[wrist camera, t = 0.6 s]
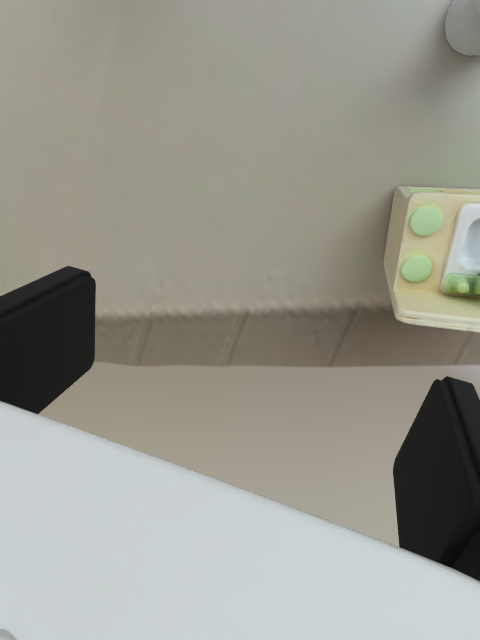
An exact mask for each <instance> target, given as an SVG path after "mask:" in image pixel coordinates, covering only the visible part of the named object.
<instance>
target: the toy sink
mask: <svg viewBox="0 0 480 640" xmlns="http://www.w3.org/2000/svg"><path fill="white" fill-rule="evenodd" d="M383 264H384V270H385V275H386V279H387V284H388V288H389V292H390V297H391V301H392V306H393V310H394V314H395V317H396V319H397V320H399V321H401V322H404V323H407V324H413V325H421V326H430V327H438V328H447V329H455V330H463V331H471V332H480V189H466V188H436V187H409V186H397V187H396V188H395V191H394V197H393V203H392V210H391V216H390V222H389V228H388V234H387V241H386V247H385V254H384V261H383Z"/></svg>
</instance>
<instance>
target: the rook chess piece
mask: <svg viewBox="0 0 480 640" xmlns="http://www.w3.org/2000/svg"><path fill="white" fill-rule="evenodd" d="M444 27H445V32H446V37H447V41H448V42H449V44H450V45H451V46H452V48H453V49H454V50H455V51H457V52H459V53H461V54H463V55H466V56H470V55H480V0H453V2H452V3H451V5H450V7H449V9H448V11H447V16H446V21H445V26H444Z"/></svg>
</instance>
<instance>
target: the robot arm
mask: <svg viewBox="0 0 480 640" xmlns="http://www.w3.org/2000/svg"><path fill="white" fill-rule="evenodd" d="M95 294H96V283H95V280H94V279H93V278H91V274H90V273H89V272H88V271H85V270H81V269H78V268H74V267H71V266H67V267H64V268H62V269H60V270H58V271H55V272H53V273H51V274H49V275H47V276H44V277H42V278H40V279H38V280H36V281H33V282H31V283H29V284H27V285H24V286H22V287H20V288H18V289H16V290H13V291H11V292H9V293H7V294H5V295H2V296H0V640H480V400H479V397H478V395H477V393H476V391H475V388H474V386H473V385H472V383H468V382H465V381H461V380H458V379H455V378H451V377H448V376H447V377H445V378H444V379H443V380H442V381H441V380H438V379H436V380H435V381H434V382H433V384H432V386H431V388H430V390H429V392H428V394H427V396H426V398H425V400H424V402H423V404H422V406H421V408H420V410H419V412H418V414H417V416H416V418H415V420H414V422H413V424H412V426H411V428H410V430H409V432H408V434H407V436H406V438H405V440H404V442H403V444H402V446H401V449H400V450H399V452H398V454H397V456H396V459H395V462H394V467H393V476H394V488H395V500H396V511H397V523H398V534H399V546H400V547H398V546H395V545H393V544H390V543H388V542H385V541H382V540H380V539H377V538H374V537H371V536H369V535H366V534H363V533H361V532H358V531H355V530H353V529H350V528H347V527H345V526H342V525H339V524H336V523H334V522H331V521H328V520H326V519H323V518H320V517H318V516H315V515H312V514H309V513H306V512H304V511H301V510H299V509H296V508H293V507H290V506H288V505H285V504H282V503H280V502H277V501H274V500H271V499H269V498H266V497H263V496H261V495H258V494H255V493H253V492H250V491H247V490H244V489H242V488H238V487H236V486H233V485H231V484H228V483H225V482H222V481H219V480H217V479H214V478H211V477H208V476H206V475H203V474H200V473H197V472H195V471H192V470H189V469H186V468H183V467H181V466H178V465H175V464H173V463H170V462H167V461H164V460H162V459H159V458H156V457H153V456H151V455H148V454H145V453H142V452H140V451H137V450H134V449H132V448H129V447H126V446H123V445H120V444H118V443H115V442H112V441H109V440H107V439H104V438H101V437H99V436H96V435H93V434H90V433H88V432H85V431H82V430H79V429H77V428H74V427H71V426H68V425H66V424H62V423H60V422H57V421H55V420H52V419H49V418H46V417H44V416H41V415H38V414H39V413H40V412H41V411H42V410H43V409H44V408H46V407H47V406H48V405H49V404H50V403H51V402H52V401H53V400H55V399H56V398H57V397H58V396H59V395H60V394H62V393H63V392H64V391H65V390H66V389H67V388H69V387H70V386H71V385H72V384H73V383H74V382H75V381H77V380H78V379H79V378H80V377H81V376H82V375H84V374H85V373H86V372H87V371H88V370H89V369H90V368H91V367H92V365H93V362H94V357H95Z"/></svg>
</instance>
